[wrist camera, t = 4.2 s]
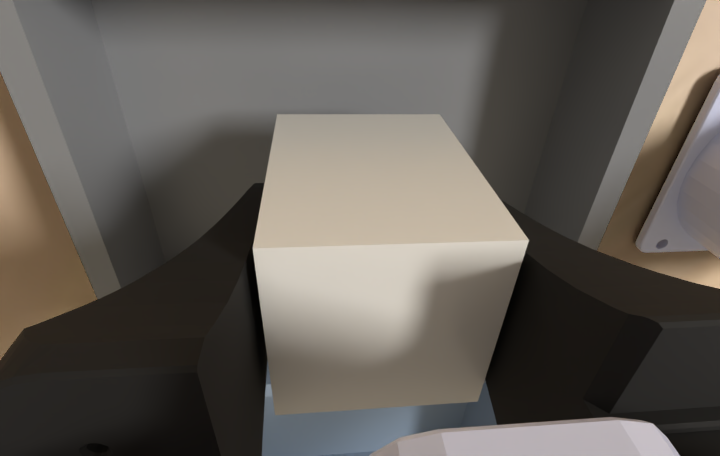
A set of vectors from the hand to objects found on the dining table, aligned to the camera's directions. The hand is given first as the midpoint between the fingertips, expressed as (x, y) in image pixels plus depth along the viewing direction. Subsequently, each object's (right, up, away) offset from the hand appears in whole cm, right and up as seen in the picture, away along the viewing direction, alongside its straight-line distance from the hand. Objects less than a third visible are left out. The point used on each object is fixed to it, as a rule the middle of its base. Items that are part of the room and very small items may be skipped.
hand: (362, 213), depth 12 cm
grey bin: (-1, +3, +4) cm, 5 cm away
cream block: (0, +1, +1) cm, 2 cm away
